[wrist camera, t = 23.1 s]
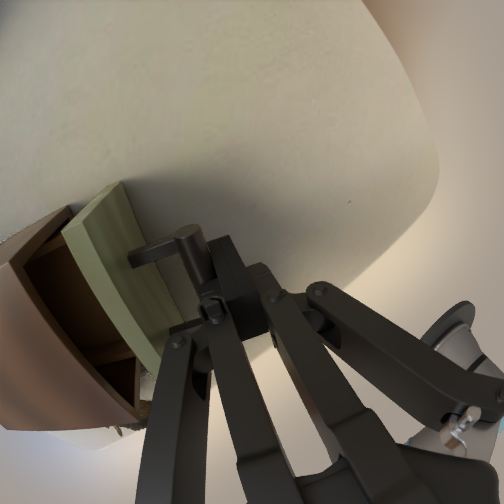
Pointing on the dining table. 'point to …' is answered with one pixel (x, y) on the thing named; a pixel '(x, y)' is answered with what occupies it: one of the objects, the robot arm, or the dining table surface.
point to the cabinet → (52, 354)
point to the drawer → (116, 281)
